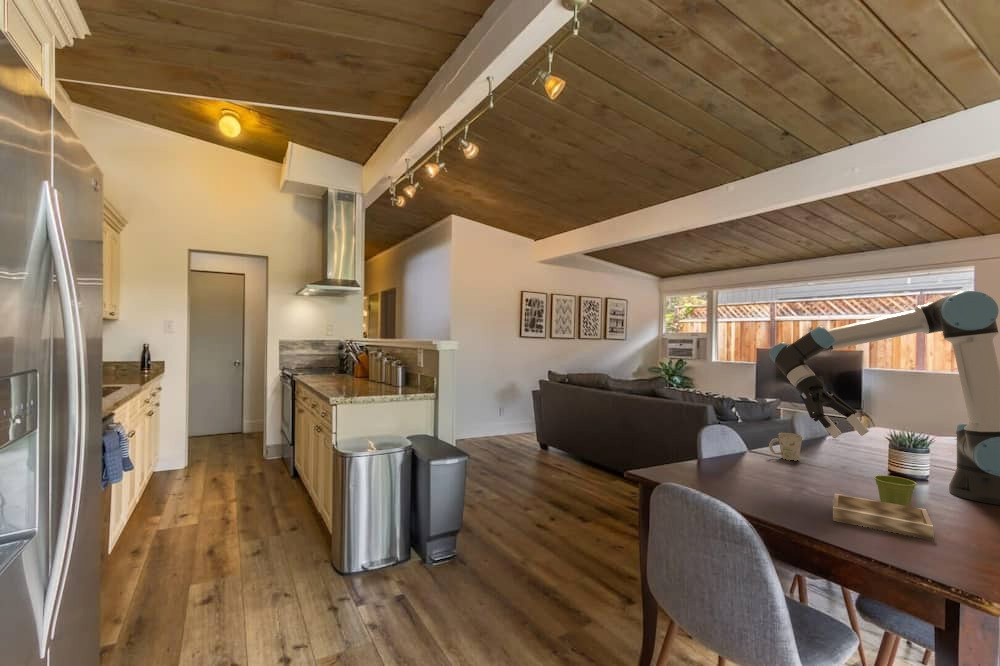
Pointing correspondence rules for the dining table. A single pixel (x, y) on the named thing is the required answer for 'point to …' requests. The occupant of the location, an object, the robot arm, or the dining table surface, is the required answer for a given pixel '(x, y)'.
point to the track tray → (883, 516)
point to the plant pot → (895, 489)
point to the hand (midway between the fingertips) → (851, 434)
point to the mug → (788, 446)
